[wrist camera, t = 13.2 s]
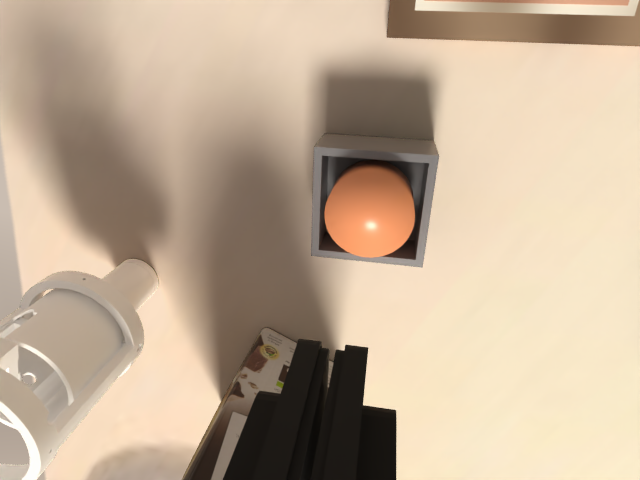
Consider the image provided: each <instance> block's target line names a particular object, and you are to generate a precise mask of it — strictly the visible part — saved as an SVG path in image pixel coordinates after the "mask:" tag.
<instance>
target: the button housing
mask: <svg viewBox="0 0 640 480" xmlns="http://www.w3.org/2000/svg"><path fill="white" fill-rule="evenodd" d="M438 159H439V154H438V151H437V148H436V145H435V142H434V140H419V139H404V138H388V137H373V136H358V135H343V134H327V133H325V134H324V135H323V136H322V138H321V139H320V140H319V141H318V143H317V144H316V145H315V146H314V168H313V206H312V243H311V256H318V257H327V258H337V259H346V260H356V261H366V262H375V263H385V264H394V265H404V266H413V267H423V260H424V254H425V247H426V240H427V233H428V226H429V220H430V213H431V206H432V199H433V192H434V186H435V179H436V172H437V165H438ZM364 160H380V161H384V162H387V163H390V164H392V165H394V166H395V167H397V168H398V169H399V170H401V171H402V172H403V173H404V174H405V176H406V177H407V178H408V180H409V182H410V184H411V187H412V190H413V198H414V210H415V222H414V227H413V230H412V232H411V234H410V236H409V238H408V239H407V241H406V242H405V243H404V244H403V245H402V246H401V247H400V248H398V249H397V250H395V251H394V252H392V253H390V254H387V255H384V256H380V257H373V258H369V257H360V256H357V255H354V254H351V253H349V252H347V251H345V250H344V249H342V248H341V247H340V246H339V245H338V244H337V243H336V242H335V241H334V240H333V239H332V237H331V236H330V234H329V232H328V230H327V227H326V224H325V215H324V213H325V206H326V202H327V200H328V197H329V195H330V193H331V191H332V189H333V186H334V184H335V182H336V180H337V179H338V177H339V176H340V174H341V173H342V172H343V171H344V170H345V169H347V168H348V167H349V166H351V165H353V164H355V163H357V162H360V161H364Z"/></svg>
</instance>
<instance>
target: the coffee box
mask: <svg viewBox="0 0 640 480" xmlns="http://www.w3.org/2000/svg"><path fill="white" fill-rule="evenodd" d="M296 345H297V343H296V342H294V341H292V340H290V339H288V338H286V337H284V336H283V335H281V334H279V333H277V332H275V331H273V330H271V329H269V328H264V329H262V331H261V332H260V334H259V336H258V337H257V339H256V341H255V343H254V344H253V346H252V348H251V350H250V351H249V353H248V355H247V357H246V358H245V360H244V362H243V364H242V365H241V367H240V369H239V371H238V372H237V374H236V376H235V378H234V379H233V381H232V383H231V385H230V387H229V388H228V390H227V392H226V394H225V396H224V398H223V400H222V401H221V403H220V405H219V407H218V409H217V411H216V413H215V415H214V417H213V419H212V421H211V423H210V425H209V426H208V428H207V430H206V432H205V434H204V436H203V438H202V440H201V442H200V444H199V446H198V448H197V450H196V452H195V454H194V456H193V458H192V460H191V462H190V464H189V466H188V468H187V470H186V472H185V474H184V476H183V478H182V480H223V477H224V475H225V472H226V470H227V467H228V465H229V462H230V460H231V457H232V455H233V452H234V450H235V447H236V444H237V442H238V439H239V437H240V434H241V432H242V429H243V427H244V424H245V422H246V419H247V417H248V414H249V412H250V409H251V407H252V404H253V402H254V399H255V397H256V395H257V393H258V392H259V391H267V392H273V393H280V394H281V390H282V387H283V384H284V381H285V378H286V375H287V372H288V369H289V366H290V363H291V360H292V357H293V354H294V351H295V348H296ZM332 368H333V362H332V361H330V360H329V371H328V388H329V383H330V378H331V373H332ZM327 393H328V391H327Z"/></svg>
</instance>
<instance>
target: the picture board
mask: <svg viewBox="0 0 640 480" xmlns="http://www.w3.org/2000/svg"><path fill="white" fill-rule="evenodd" d="M387 37H389V38H418V39H446V40H475V41H504V42H533V43H562V44H591V45H620V46H640V0H390V6H389V18H388V29H387Z"/></svg>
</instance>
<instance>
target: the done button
mask: <svg viewBox="0 0 640 480" xmlns="http://www.w3.org/2000/svg"><path fill="white" fill-rule="evenodd" d="M324 215H325V224H326V227H327V230H328V232H329V234H330V236H331V237H332V239H333V240H334V241H335V242H336V243H337V244H338V245H339V246H340V247H341V248H342V249H344V250H345V251H347V252H349V253H351V254H354V255H357V256H360V257H369V258H373V257H380V256H384V255H387V254H390V253H392V252H394V251H395V250H397V249H398V248H400V247H401V246H402V245H403V244H404V243H405V242H406V241H407V239H408V238H409V236H410V234H411V232H412V230H413V227H414V222H415V210H414V198H413V190H412V187H411V184H410V182H409V180H408V178H407V177H406V176H405V174H404V173H403V172H402V171H401V170H399V169H398V168H397V167H395V166H394V165H392V164H390V163H387V162H384V161H380V160H364V161H360V162H357V163H355V164H353V165H351V166H349V167H348V168H347V169H345V170H344V171H343V172H342V173H341V174H340V176H339V177H338V179H337V180H336V182H335V184H334V186H333V189H332V191H331V193H330V195H329V197H328V200H327V202H326V206H325V213H324Z"/></svg>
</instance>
